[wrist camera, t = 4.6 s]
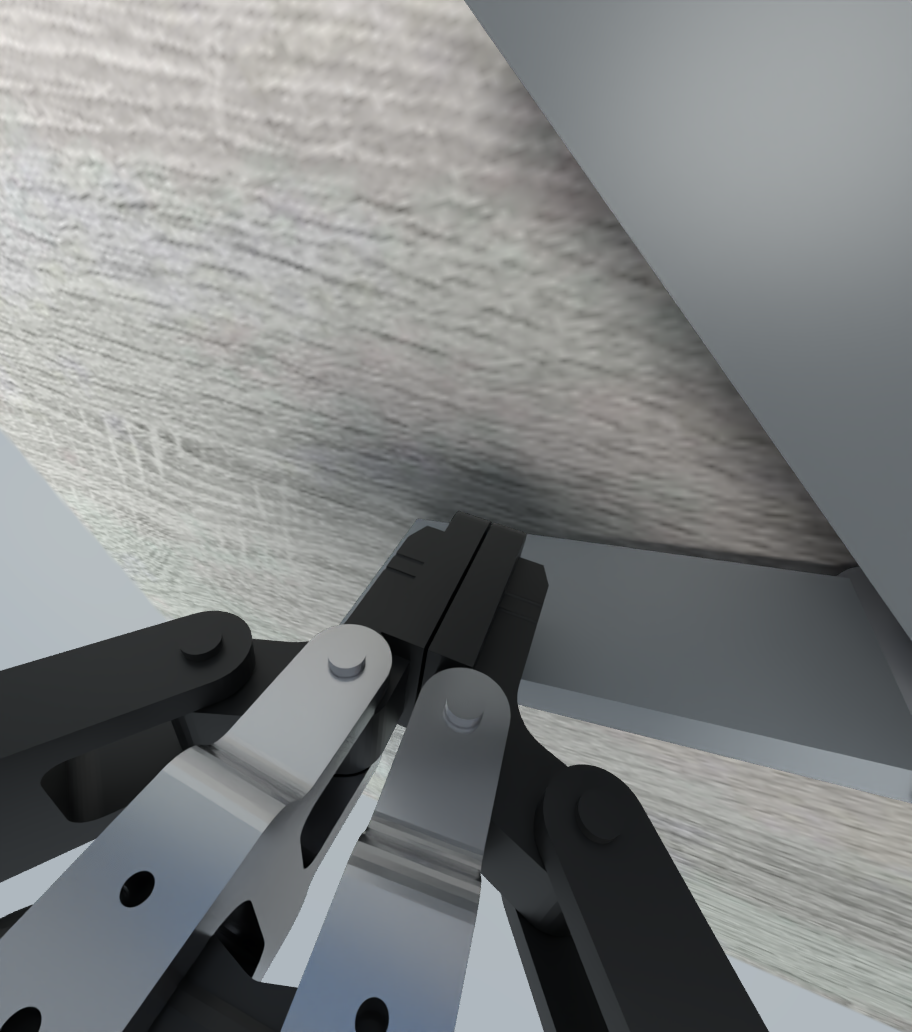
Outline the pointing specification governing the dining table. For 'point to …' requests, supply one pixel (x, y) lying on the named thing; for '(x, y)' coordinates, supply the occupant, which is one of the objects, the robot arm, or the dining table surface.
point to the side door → (723, 659)
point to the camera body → (762, 213)
